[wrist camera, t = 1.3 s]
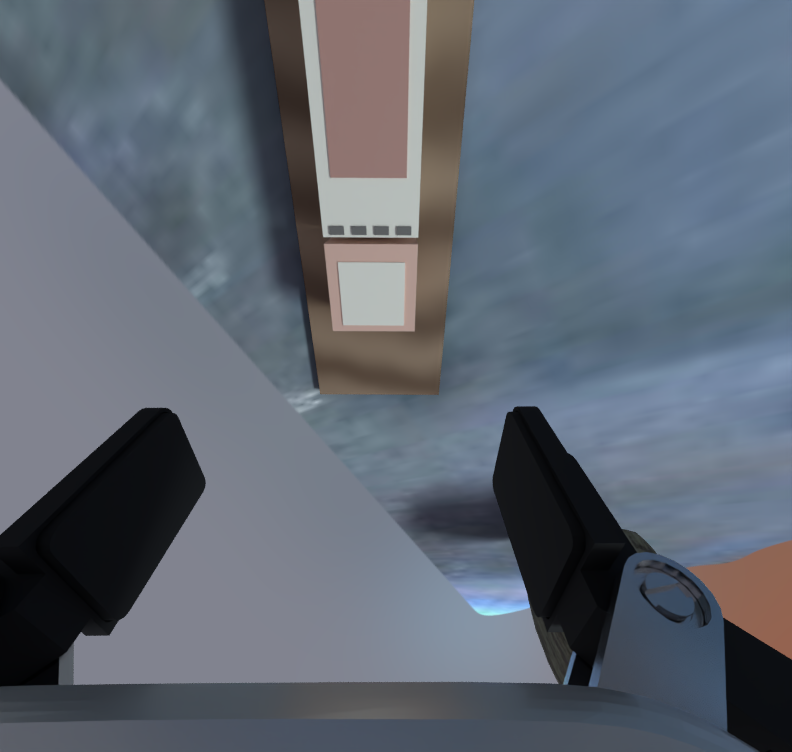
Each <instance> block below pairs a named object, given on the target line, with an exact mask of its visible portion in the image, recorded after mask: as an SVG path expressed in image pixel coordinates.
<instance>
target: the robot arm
mask: <svg viewBox="0 0 792 752" xmlns="http://www.w3.org/2000/svg"><path fill="white" fill-rule="evenodd" d="M205 484H206V483H205V477H204V475H203V473H202V471H201V468H200V466H199V464H198V461H197V459H196V457H195V454H194V452H193V450H192V448H191V445H190V443H189V441H188V438H187V436H186V434H185V432H184V429H183V427H182V425H181V422H180V420H179V418H178V416H177V415H176V414H175V413H172V411H171V410H169V409H168V408H144V409H141V410H140V411H138V412H137V413H136V414H135V415H134V416H133V417H132V418H131V419H130V420H128V421H127V422H126V423H125V424H124V425H123V426H122V427H121V428H120V429H118V430H117V431H116V432H115V433H114V434H113V435H112V436H110V437H109V438H108V439H107V440H106V441H105V442H104V443H103V444H102V445H100V447H98V448H97V449H96V450H95V451H94V452H93V453H91V454H90V455H89V456H88V457H87V458H86V459H85V460H84V461H82V462H81V463H80V464H79V465H78V466H77V467H76V468H75V469H74V470H72V471H71V472H70V473H69V474H68V475H67V476H66V477H65V478H63V479H62V480H61V481H60V482H59V483H58V484H57V485H56V486H55V487H53V488H52V489H51V490H50V491H49V492H48V493H47V494H46V495H44V496H43V497H42V498H41V499H40V500H39V501H38V502H37V503H35V504H34V505H33V506H32V507H31V508H30V509H29V510H28V511H27V512H25V513H24V514H23V515H22V516H21V517H20V518H19V519H18V520H16V521H15V522H14V523H13V524H12V525H11V526H10V527H9V528H8V529H7V530H5V531H4V532H3V533H2V534H1V535H0V752H792V660H791V659H790V658H788V657H786V656H785V655H783V654H781V653H780V652H778V651H777V650H775V649H773V648H772V647H770V646H768V645H767V644H765V643H764V642H762V641H760V640H759V639H757V638H755V637H754V636H752V635H751V634H749V633H747V632H746V631H744V630H742V629H741V628H739V627H738V626H736V625H734V624H733V623H731V622H729V621H728V620H726V619H725V618H723V616H722V612H721V608H720V606H719V604H718V603H717V601H716V599H715V597H714V596H713V594H712V593H711V591H710V590H709V589H708V588H707V587H706V586H705V584H704V583H703V582H702V581H701V580H700V579H699V578H697V577H696V576H695V575H694V574H693V573H692V572H690V571H689V570H688V569H687V568H685V567H683V566H682V565H680V564H679V563H677V562H675V561H674V560H671V559H669V558H667V557H664V556H662V555H659V554H654V553H649V552H643V553H637V552H636V550H635V549H634V547H633V545H632V544H631V542H630V541H629V539H628V538H627V536H626V535H625V533H624V532H623V530H622V529H621V527H620V526H619V524H618V523H617V521H616V520H615V518H614V517H613V515H612V514H611V512H610V511H609V509H608V508H607V506H606V505H605V503H604V501H603V500H602V498H601V497H600V495H599V494H598V492H597V491H596V489H595V488H594V486H593V485H592V483H591V482H590V480H589V479H588V477H587V476H586V474H585V473H584V471H583V470H582V468H581V467H580V465H579V464H578V462H577V461H576V459H575V458H574V457H573V456H572V455H570V454H568V453H567V452H566V450H565V448H564V447H563V445H562V444H561V442H560V441H559V439H558V438H557V436H556V434H555V433H554V431H553V430H552V428H551V427H550V425H549V424H548V422H547V420H546V419H545V417H544V416H543V414H542V413H541V411H540V410H539V408H538V407H535V406H532V407H515V408H514V409H513V412H508V413H507V415H506V420H505V424H504V429H503V433H502V438H501V442H500V447H499V451H498V456H497V460H496V465H495V470H494V474H493V489H494V492H495V495H496V498H497V502H498V505H499V508H500V511H501V514H502V517H503V520H504V523H505V526H506V529H507V532H508V535H509V538H510V541H511V545H512V548H513V551H514V554H515V557H516V560H517V563H518V566H519V569H520V572H521V575H522V578H523V581H524V584H525V588H526V591H527V594H528V597H529V600H530V603H531V606H532V609H533V611H534V613H535V615H536V616H537V617H542V618H543V621H544V624H545V627H546V630H547V632H564V634H565V637H566V640H567V642H568V645H569V648H570V649H571V650H572V651H573V652H572V655H571V659H570V662H569V666H568V669H567V673H566V676H565V679H564V683H563V684H545V683H543V684H542V683H541V684H540V683H489V682H323V683H321V682H319V683H194V684H193V683H192V684H191V683H189V684H109V685H108V684H105V685H73V651H74V650H73V649H74V645H73V642H74V641H75V639H76V638H77V637H78V635H79V634H80V632H82V633H83V634H84V635H86V636H92V635H93V636H96V635H97V636H98V635H100V636H101V635H110V633H111V632H112V630H113V629H114V627H115V625H116V624H117V622H118V621H119V620H120V619H122V618H124V617H125V616H126V615H127V614H128V612H129V611H130V609H131V608H132V606H133V604H134V603H135V601H136V599H137V598H138V596H139V594H140V593H141V592H142V590H143V588H144V587H145V585H146V583H147V582H148V580H149V579H150V577H151V575H152V574H153V572H154V570H155V569H156V567H157V566H158V564H159V562H160V561H161V559H162V558H163V556H164V554H165V553H166V551H167V549H168V548H169V546H170V545H171V543H172V541H173V540H174V538H175V537H176V535H177V533H178V532H179V530H180V528H181V527H182V525H183V524H184V522H185V520H186V519H187V517H188V516H189V514H190V512H191V511H192V509H193V507H194V506H195V504H196V503H197V501H198V499H199V498H200V496H201V494H202V493H203V491H204V488H205Z"/></svg>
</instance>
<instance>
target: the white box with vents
mask: <svg viewBox="0 0 792 752" xmlns="http://www.w3.org/2000/svg"><path fill="white" fill-rule="evenodd" d="M298 1H299V11H300V20H301V30H302V39H303V49H304V59H305V68H306V78H307V87H308V97H309V106H310V116H311V126H312V135H313V145H314V154H315V164H316V173H317V183H318V193H319V202H320V212H321V221H322V231H323V237H379V238H418V231H419V205H420V179H421V153H422V127H423V101H424V75H425V49H426V22H427V0H298Z"/></svg>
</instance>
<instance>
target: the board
mask: <svg viewBox="0 0 792 752" xmlns="http://www.w3.org/2000/svg"><path fill="white" fill-rule="evenodd" d="M264 2H265V9H266V16H267V23H268V30H269V37H270V44H271V51H272V58H273V65H274V72H275V79H276V86H277V93H278V100H279V107H280V114H281V121H282V129H283V136H284V143H285V150H286V157H287V164H288V171H289V178H290V185H291V192H292V199H293V206H294V213H295V220H296V227H297V234H298V241H299V248H300V255H301V262H302V269H303V276H304V283H305V290H306V297H307V304H308V311H309V318H310V325H311V332H312V339H313V346H314V353H315V360H316V367H317V374H318V381H319V388H320V394H404V395H439V385H440V374H441V363H442V352H443V340H444V329H445V318H446V307H447V296H448V285H449V274H450V263H451V252H452V241H453V230H454V219H455V208H456V197H457V186H458V174H459V163H460V152H461V141H462V130H463V119H464V108H465V97H466V86H467V75H468V64H469V53H470V42H471V31H472V19H473V8H474V0H427V22H426V49H425V75H424V101H423V127H422V153H421V179H420V205H419V231H418V238H416V240H417V243H418V257H417V283H416V309H415V331H333V327H332V317H331V307H330V298H329V288H328V279H327V269H326V260H325V250H324V243H325V242H327V241H328V240H329V239H330V238H331V237H323V231H322V221H321V212H320V202H319V193H318V183H317V173H316V164H315V154H314V145H313V135H312V126H311V116H310V106H309V97H308V87H307V78H306V68H305V59H304V49H303V39H302V30H301V20H300V11H299V1H298V0H264Z"/></svg>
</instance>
